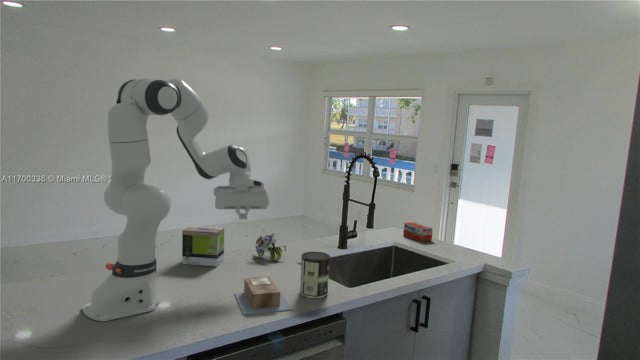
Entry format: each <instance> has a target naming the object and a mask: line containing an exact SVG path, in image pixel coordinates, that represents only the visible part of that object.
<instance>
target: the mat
mask: <svg viewBox="0 0 640 360" xmlns="http://www.w3.org/2000/svg"><path fill="white" fill-rule="evenodd" d="M234 296H235V299H236V301H237V304H238V306H239V307H240V310H241V312H242V315H243V316H247V315H255V314H268V313H277V312H287V311H293V308H292V306H291V305H290V304H289V302H288V301H287V300H286V298H285V297H284V295H283V294H282V292H281V291H280V307H269V308H259V309H252V307H251V305H250V303H249V301H248V299H247V297H246V295H245V293H244V292H238V293H234Z"/></svg>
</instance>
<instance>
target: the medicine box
mask: <svg viewBox="0 0 640 360" xmlns="http://www.w3.org/2000/svg"><path fill="white" fill-rule="evenodd" d="M402 232H403V237H406V238H409V239H411V240H414V241H417V242H420V243H425V242H432V239H433V227H431V226H428V225H425V224H422V223H418V222H416V221H410V222H409V221H408V222H407V221H406V222H404V224H403V231H402Z"/></svg>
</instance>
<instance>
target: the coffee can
mask: <svg viewBox="0 0 640 360" xmlns="http://www.w3.org/2000/svg"><path fill="white" fill-rule="evenodd" d="M330 260H331V255H330V254H328V253H326V252H321V251H305V252H303V253H301V263H300V264H301V266H300V267H301V268H300V269H301V270H300V287H299V290H300V291H299V294H300V295H301V296H302V297H305V298H308V299H322V297H323V298H325V297H324V296H326V295H327V294H329V276H330V274H329V273H330ZM327 296H328V295H327ZM327 296H326V297H327Z"/></svg>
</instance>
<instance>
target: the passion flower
mask: <svg viewBox="0 0 640 360" xmlns="http://www.w3.org/2000/svg"><path fill="white" fill-rule="evenodd" d="M274 237H275V233H271V234H268V235H265V236H263V235H260V236H259V237H258V238H257V240H256V241H255V249H256V250H255V251H256V253H257V256H256V258H257V259H259V258H262V257H263V256H264V255H265V253H267V252H268V253H269V255H270V260H271V262H272V263H274V262H275V259H276V258H277V260H279V259H280V258H281V257H282V253H283V250H282V248H284V251H285V252H286V251H287V245H280V246H275V245H276V244H275V243H276V242H277V239H276V238H274ZM276 256H277V257H276Z"/></svg>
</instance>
